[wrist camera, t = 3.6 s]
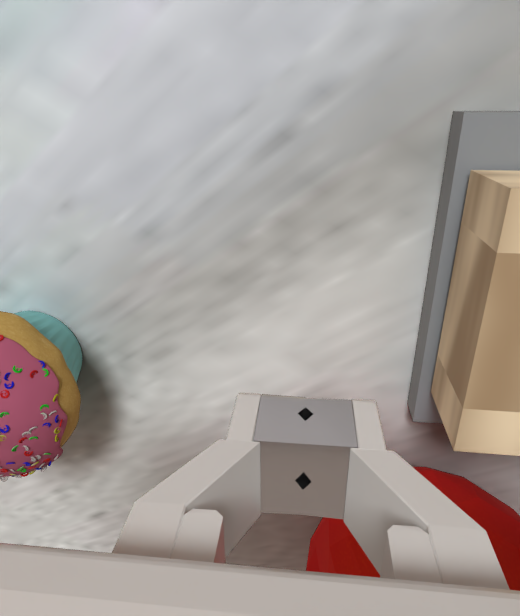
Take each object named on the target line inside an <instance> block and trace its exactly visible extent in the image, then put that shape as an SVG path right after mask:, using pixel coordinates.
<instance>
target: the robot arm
mask: <svg viewBox="0 0 520 616" xmlns="http://www.w3.org/2000/svg"><path fill="white" fill-rule="evenodd" d="M261 513H277V514H296V515H308V516H317V517H326V518H335V519H344V523H345V524H346V526H347V527H348V529H349V530H350V532H351V533H352V535H353V536H354V538H355V539H356V541H357V542H358V543H359V545H360V546H361V548H362V549H363V551H364V552H365V554H366V555H367V557H368V558H369V560H370V561H371V563H372V564H373V566H374V567H375V568H376V570H377V571H378V573H379V574H380V578H378V577H368V576H357V575H346V574H335V573H324V572H313V571H302V570H291V569H280V568H269V567H258V566H247V565H236V564H225V558H226V557H227V556H228V555H229V553H230V552H231V551H232V550H233V548H234V547H235V546H236V545H237V544H238V542H239V541H240V540H241V539H242V537H243V536H244V535H245V534H246V532H247V531H248V530H249V529H250V528H251V526H252V525H253V524H254V523H255V521H256V520H257V519H258V518H259V517H260V515H261ZM0 616H520V591H516V590H510V589H509V586H508V584H507V581H506V579H505V576H504V574H503V572H502V569H501V567H500V564H499V562H498V559H497V557H496V554H495V552H494V549H493V547H492V544H491V542H490V539H489V537H488V535H487V532H486V530H484V529H483V528H482V527H481V526H480V525H479V524H478V523H476V522H475V521H474V520H473V519H472V518H471V517H470V516H468V515H467V514H466V513H465V512H464V511H463V510H461V509H460V508H459V507H458V506H457V505H456V504H455V503H453V502H452V501H451V500H450V499H449V498H448V497H447V496H445V495H444V494H443V493H442V492H441V491H440V490H438V489H437V488H436V487H435V486H434V485H433V484H432V483H430V482H429V481H428V480H427V479H426V478H425V477H424V476H422V475H421V474H420V473H419V472H418V471H417V470H415V469H414V468H413V467H412V466H411V465H410V464H409V463H407V462H406V461H405V460H404V459H403V458H402V457H401V456H399V455H398V454H397V453H396V452H395V451H390V450H387V448H386V444H385V439H384V435H383V430H382V426H381V421H380V417H379V412H378V408H377V403H376V402H375V401H374V400H356V399H351V400H342V399H318V398H306V397H294V396H281V395H268V394H262V395H261V394H253V393H239V394H238V395H237V397H236V401H235V405H234V409H233V413H232V417H231V421H230V425H229V429H228V432H227V436H226V440H224V439H219V440H217V441H216V442H215V443H213V444H212V445H211V446H209V447H208V448H207V449H205V450H204V451H203V452H201V453H200V454H199V455H197V456H196V457H194V458H193V459H192V460H190V461H189V462H188V463H186V464H185V465H184V466H182V467H181V468H180V469H178V470H177V471H176V472H174V473H173V474H172V475H170V476H169V477H167V478H166V479H165V480H163V481H162V482H161V483H159V484H158V485H157V486H155V487H154V488H153V489H151V490H150V491H149V492H147V493H146V494H145V495H143V496H142V497H140V498H139V499H138V500H136V501H135V502H134V505H133V507H132V509H131V511H130V514H129V516H128V518H127V520H126V523H125V525H124V527H123V529H122V531H121V534H120V536H119V538H118V540H117V543H116V545H115V547H114V549H113V551H112V553H105V552H94V551H83V550H73V549H62V548H51V547H40V546H29V545H18V544H7V543H0Z"/></svg>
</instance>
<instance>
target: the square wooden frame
mask: <svg viewBox="0 0 520 616" xmlns="http://www.w3.org/2000/svg"><path fill="white" fill-rule="evenodd" d="M431 393H432V396H433V399H434V401H435V404H436V406H437V409H438V412H439V414H440V417H441V419H442V422H443V424H444V427H445V430H446V432H447V435H448V437H449V440H450V443H451V445H452V448H453V450H454V451H461V452H474V453H488V454H501V455H514V456H520V171H512V170H471V171H470V177H469V183H468V188H467V194H466V199H465V205H464V210H463V216H462V221H461V227H460V233H459V238H458V244H457V249H456V255H455V260H454V266H453V271H452V277H451V283H450V288H449V294H448V299H447V305H446V310H445V316H444V321H443V327H442V333H441V338H440V344H439V349H438V355H437V360H436V366H435V371H434V377H433V383H432V388H431Z"/></svg>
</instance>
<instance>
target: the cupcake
mask: <svg viewBox="0 0 520 616" xmlns="http://www.w3.org/2000/svg"><path fill="white" fill-rule="evenodd" d="M81 367H82V352H81V348H80V345H79V343H78V341H77V339H76V337H75V336H74V334H73V333H72V332H71V331H70V329H69V328H68V327H67V326H65V325H64V324H63V323H62V322H60V321H59V320H57V319H56V318H54V317H52V316H50V315H47V314H45V313H41V312H36V311H23V312H18V313H14V314H12V313H7V312H1V311H0V480H1V481H3V482H4V481H6V480H7V479H8V476H12V477H14V476H15V477H16V478H21V477H22V476H27V475H28V474H32V473H34V472H35V471H36V470H39V469H41V472H43V471H45V469H46V468H47V465H48V466H50V465H51V462H53V461H54V460H56V459H57V458H58V457H59V456H60V455H61V454H62V453H63V449H62V448H61V447H62V446H63V445H64V444H65V442H66V441H67V440H68V439H69V437H70V436H71V434H72V433H73V431H74V429H75V428H76V426H77V423H78V420H79V410H80V403H81V396H80V392H79V389H78V386H77V384H76V383H77V379H78V376H79V373H80V370H81ZM43 467H45V469H44V468H43ZM43 469H44V470H43ZM32 471H33V472H32ZM25 473H27V474H25ZM23 474H25V475H23ZM2 477H3V479H2ZM5 477H6V479H4V478H5Z"/></svg>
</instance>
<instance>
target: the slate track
mask: <svg viewBox="0 0 520 616" xmlns="http://www.w3.org/2000/svg"><path fill="white" fill-rule="evenodd" d="M471 170H512V171H520V111H453V117H452V123H451V129H450V136H449V142H448V149H447V155H446V161H445V168H444V174H443V180H442V187H441V193H440V200H439V206H438V212H437V219H436V225H435V231H434V238H433V244H432V251H431V257H430V263H429V270H428V276H427V282H426V289H425V295H424V302H423V308H422V314H421V321H420V327H419V333H418V340H417V346H416V353H415V359H414V365H413V372H412V378H411V384H410V391H409V397H408V407H409V410H410V413H411V417H412V420H413V422H427V423H442V424H443V422H442V419H441V417H440V414H439V412H438V409H437V406H436V404H435V401H434V399H433V396H432V393H431V388H432V383H433V377H434V371H435V366H436V360H437V355H438V349H439V344H440V338H441V333H442V327H443V321H444V316H445V310H446V305H447V299H448V294H449V288H450V283H451V277H452V271H453V266H454V260H455V255H456V249H457V244H458V238H459V233H460V227H461V221H462V216H463V210H464V205H465V199H466V194H467V188H468V183H469V177H470V171H471Z"/></svg>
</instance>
